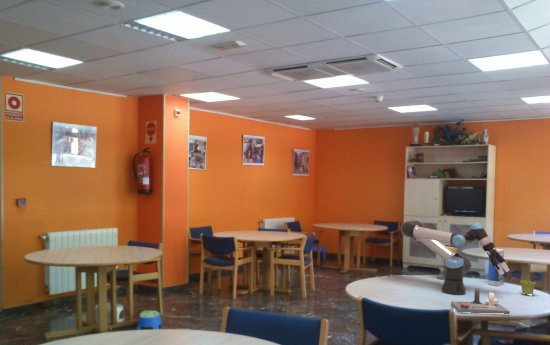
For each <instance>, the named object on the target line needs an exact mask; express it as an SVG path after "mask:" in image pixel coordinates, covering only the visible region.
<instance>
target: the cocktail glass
mask: <svg viewBox="0 0 550 345" xmlns="http://www.w3.org/2000/svg"><path fill="white" fill-rule="evenodd" d="M444 245H445V246H446V247H448V248H449V249H450V250H451V251H453V252H457V253H458V246H455V245H448V244H447V245H446V244H444ZM442 272H443V275H442V276H437V277H436V279H437V280H441V281H445V260H444V259H443V271H442Z"/></svg>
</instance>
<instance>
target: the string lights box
mask: <svg viewBox="0 0 550 345" xmlns="http://www.w3.org/2000/svg"><path fill="white" fill-rule="evenodd" d="M495 249H496V250H497V252H498V253H499V254H500V255H501V256H502V258H503V259H504V260H505V258H504V257H505V256H504V255H505V254H504V253H505V249H503V248H495ZM496 260H497V259H496ZM497 263H498V264H499V266H500V267H501V269H502V270H503V271H504V268H503V267H502V265H501V263H500V262H499V261H498V260H497ZM487 272H488V273H487V274H488V278H487V285H490V286H494V287H500V286H501V285H503V284H504V274H502V275H500V274H499V272H498V271H497V269H496V268H495V266H494V267H493V265H492V263H491V261H490V258H489V257H488V271H487Z"/></svg>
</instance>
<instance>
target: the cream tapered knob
mask: <svg viewBox="0 0 550 345" xmlns="http://www.w3.org/2000/svg"><path fill="white" fill-rule="evenodd" d="M494 299H495V293H494V292H492V291H491V292H488V300H489V305H487V308H490V309H496V307H495V306H494V304H495V303H494Z"/></svg>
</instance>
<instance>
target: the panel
mask: <svg viewBox="0 0 550 345" xmlns="http://www.w3.org/2000/svg"><path fill="white" fill-rule="evenodd" d="M472 302H473V301H464V300H463V301H460V300H458V301H451V302H450V306H451V307H452V309H454V308H455V309H456V310H457V311H456V310H455V309H454V310H455V311H456V312H457V313H459V312H471V313H504V314H510V312H511V311H510V310H509V309H507V308H505V307H504V306H502V304H499V303H494V306H495V307H496V309H490V308H487V305H489V304H487V303H486V302H481V304H473V303H472Z"/></svg>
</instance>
